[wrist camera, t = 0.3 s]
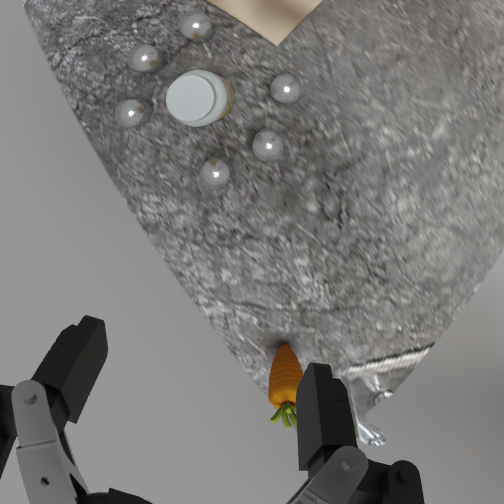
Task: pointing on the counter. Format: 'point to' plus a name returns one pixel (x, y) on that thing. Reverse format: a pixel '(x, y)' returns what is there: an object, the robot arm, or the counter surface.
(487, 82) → the counter surface
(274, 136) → the spacer posts
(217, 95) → the supplement bottle
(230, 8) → the pad
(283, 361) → the carrot
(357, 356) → the counter surface
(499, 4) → the counter surface
